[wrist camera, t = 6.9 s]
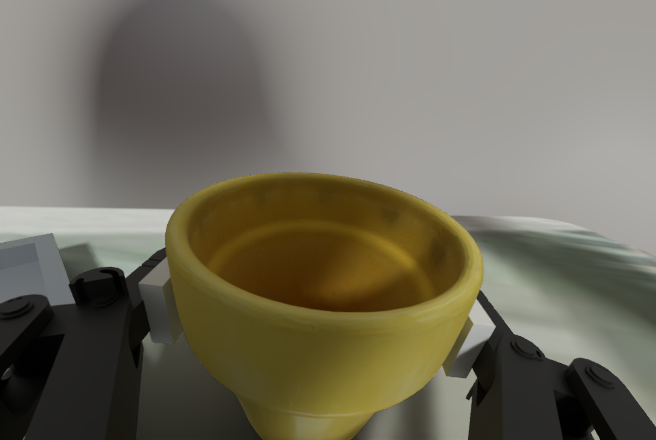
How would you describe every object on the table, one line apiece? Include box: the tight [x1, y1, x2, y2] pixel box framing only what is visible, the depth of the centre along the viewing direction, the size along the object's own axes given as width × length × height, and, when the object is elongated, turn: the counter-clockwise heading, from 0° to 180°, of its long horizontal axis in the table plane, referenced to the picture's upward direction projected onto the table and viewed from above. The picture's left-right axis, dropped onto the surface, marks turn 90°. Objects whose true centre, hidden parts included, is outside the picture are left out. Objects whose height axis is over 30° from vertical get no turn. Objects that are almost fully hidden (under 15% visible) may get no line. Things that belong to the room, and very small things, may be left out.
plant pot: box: [165, 173, 484, 440], centre depth 11 cm, size 10×10×10 cm
